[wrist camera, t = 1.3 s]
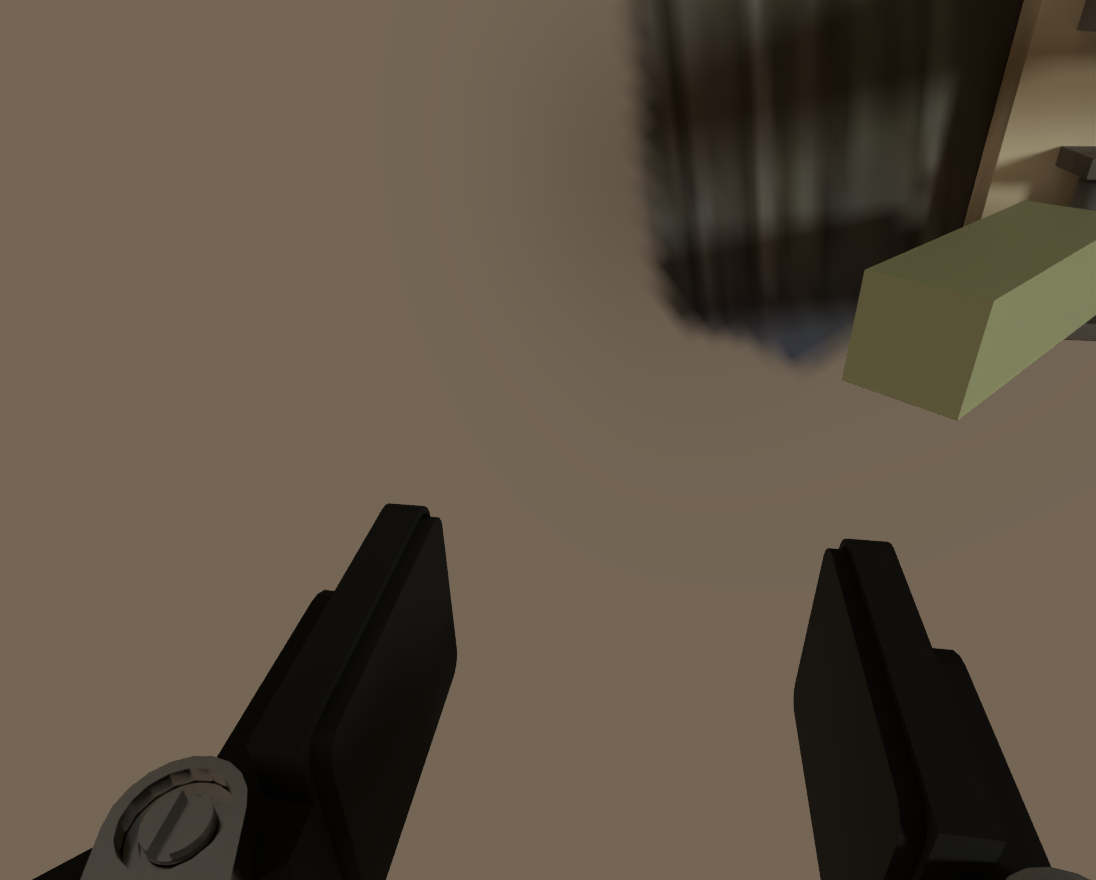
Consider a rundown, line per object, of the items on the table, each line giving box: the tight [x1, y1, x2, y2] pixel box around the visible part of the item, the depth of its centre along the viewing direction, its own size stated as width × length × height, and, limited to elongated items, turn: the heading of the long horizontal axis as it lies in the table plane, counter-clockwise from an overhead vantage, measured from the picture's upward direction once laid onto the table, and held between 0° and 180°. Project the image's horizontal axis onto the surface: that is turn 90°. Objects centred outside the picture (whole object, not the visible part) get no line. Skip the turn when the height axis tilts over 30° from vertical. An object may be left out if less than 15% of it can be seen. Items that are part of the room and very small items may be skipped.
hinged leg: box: [842, 178, 1096, 421], centre depth 21 cm, size 4×3×13 cm
